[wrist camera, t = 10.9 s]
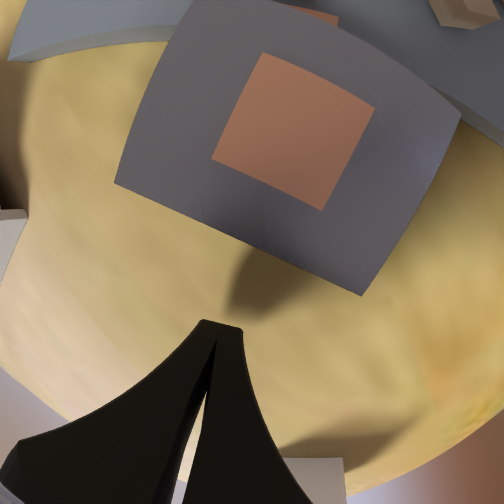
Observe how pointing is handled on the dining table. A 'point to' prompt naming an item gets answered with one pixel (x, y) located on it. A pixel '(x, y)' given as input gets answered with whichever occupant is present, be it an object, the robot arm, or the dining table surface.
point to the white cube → (320, 478)
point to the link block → (287, 137)
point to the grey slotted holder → (10, 234)
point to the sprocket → (464, 12)
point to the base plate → (328, 9)
